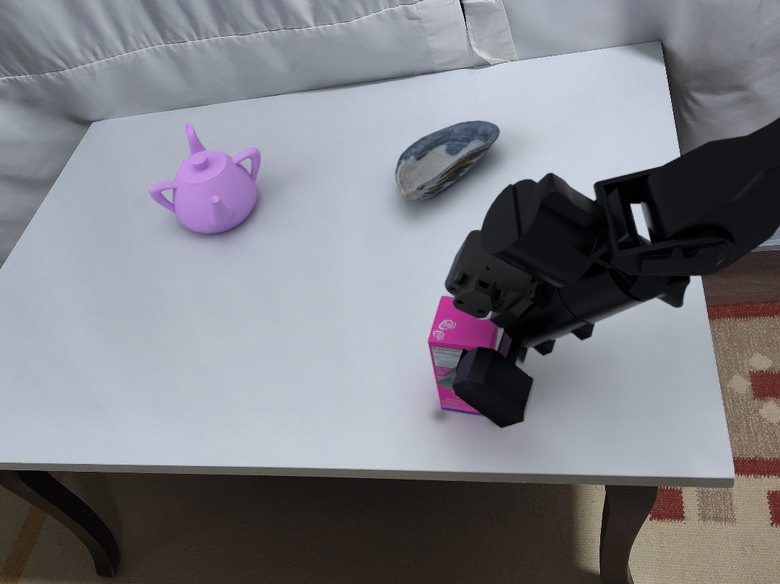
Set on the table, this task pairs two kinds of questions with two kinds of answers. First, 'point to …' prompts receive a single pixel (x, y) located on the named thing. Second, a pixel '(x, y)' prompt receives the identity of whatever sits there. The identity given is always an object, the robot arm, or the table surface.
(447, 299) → the supplement box
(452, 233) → the table surface
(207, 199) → the teapot
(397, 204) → the table surface
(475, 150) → the seashell
